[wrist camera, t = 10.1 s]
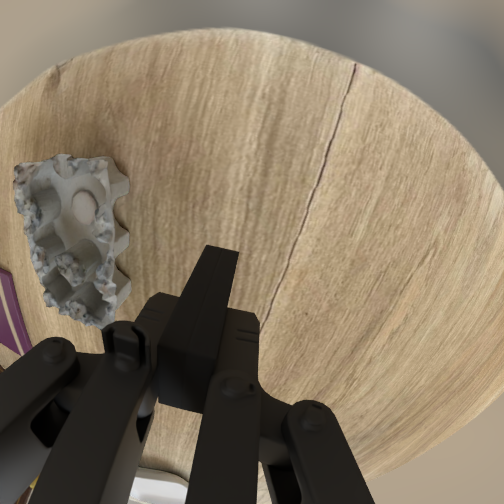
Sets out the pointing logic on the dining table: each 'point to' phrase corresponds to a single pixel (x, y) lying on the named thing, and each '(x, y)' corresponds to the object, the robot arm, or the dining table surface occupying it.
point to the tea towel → (11, 317)
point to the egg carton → (75, 233)
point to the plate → (158, 487)
